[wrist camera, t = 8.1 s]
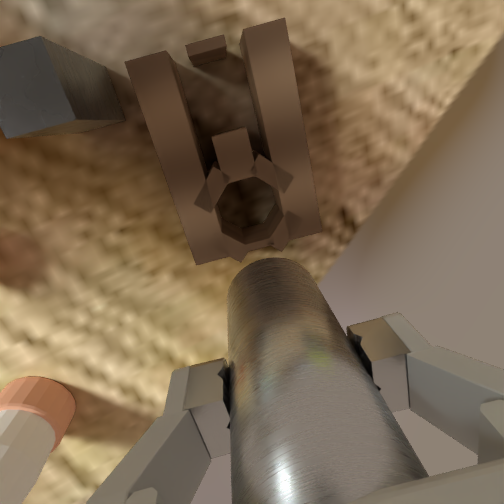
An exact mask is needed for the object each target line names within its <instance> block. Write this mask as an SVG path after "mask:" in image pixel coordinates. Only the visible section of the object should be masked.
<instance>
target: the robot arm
mask: <svg viewBox="0 0 504 504" xmlns="http://www.w3.org/2000/svg"><path fill="white" fill-rule="evenodd" d="M347 337H348V339H349V341H350V342H351V344H352V346H353V348H354V349H355V351H356V353H357V354H358V356H359V358H360V359H361V361H362V363H363V365H364V366H365V368H366V370H367V371H368V373H369V375H370V377H371V378H372V380H373V382H374V383H375V385H376V387H377V388H378V390H379V392H380V394H381V395H382V397H383V399H384V400H385V402H386V404H387V405H388V407H389V409H390V411H391V412H396V411H401V410H405V409H410V408H411V411H413V412H414V413H416V414H417V415H419V416H420V417H422V418H423V419H425V420H426V421H428V422H429V423H431V424H432V425H434V426H435V427H437V428H438V429H440V430H441V431H443V432H444V433H446V434H447V435H449V436H450V437H452V438H453V439H455V440H456V441H458V442H459V443H461V444H462V445H464V446H465V447H467V448H468V449H470V450H471V451H473V452H474V453H476V454H477V455H478V465H474V466H470V467H466V468H462V469H458V470H454V471H450V472H446V473H442V474H438V475H434V476H430V477H426V478H422V479H418V480H414V481H410V482H406V483H402V484H398V485H394V486H390V487H386V488H382V489H379V490H377V491H374V492H371V493H369V494H368V495H366V496H363V497H361V498H359V499H356V500H354V501H352V502H350V503H347V504H504V369H501V368H498V367H496V366H493V365H490V364H487V363H484V362H482V361H479V360H476V359H473V358H471V357H468V356H465V355H462V354H459V353H456V352H454V351H451V350H448V349H445V348H443V347H440V346H436V347H432V346H431V345H430V344H429V343H428V342H427V341H426V340H425V339H424V338H423V336H422V335H421V334H420V333H419V332H418V331H417V330H416V329H415V328H414V327H413V326H412V325H411V324H410V323H409V322H408V321H407V320H406V319H405V318H404V317H403V316H402V314H400V313H398V312H397V313H393V314H389V315H386V316H382V317H380V318H377V319H373V320H370V321H366V322H362V323H358V324H354V325H350V326H347ZM230 453H231V445H230V404H229V367H228V364H227V361H226V359H225V358H221V359H217V360H212V361H208V362H204V363H199V364H195V365H191V366H187V367H183V368H179V369H175V370H174V371H173V372H172V375H171V380H170V385H169V389H168V394H167V399H166V404H165V409H164V413H163V416H161V417H158V418H157V419H156V420H155V421H154V422H153V424H152V425H151V426H150V427H149V428H148V430H147V431H146V432H145V433H144V434H143V436H142V437H141V438H140V439H139V440H138V441H137V443H136V444H135V445H134V446H133V447H132V449H131V450H130V451H129V452H128V453H127V455H126V456H125V457H124V458H123V459H122V460H121V462H120V463H119V464H118V465H117V466H116V468H115V469H114V470H113V471H112V472H111V474H110V475H109V476H108V477H107V478H106V479H105V481H104V482H103V483H102V484H101V485H100V487H99V488H98V489H97V490H96V491H95V492H94V494H93V495H92V496H91V497H90V498H89V500H88V501H87V503H86V504H190V503H191V501H192V499H193V497H194V495H195V493H196V491H197V489H198V487H199V485H200V483H201V481H202V479H203V477H204V475H205V473H206V471H207V469H208V466H209V465H210V462H211V459H212V458H215V457H219V456H223V455H226V454H230Z"/></svg>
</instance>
